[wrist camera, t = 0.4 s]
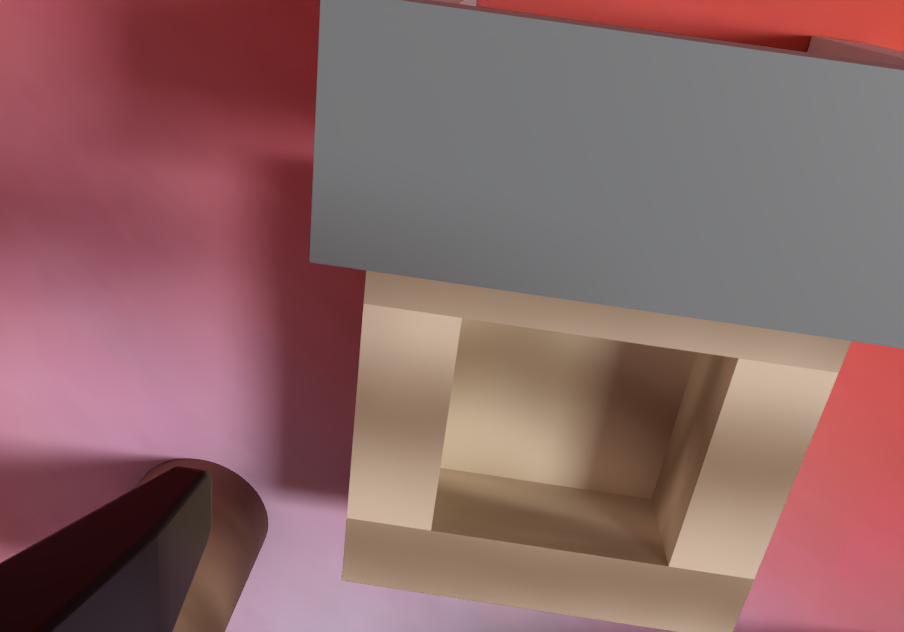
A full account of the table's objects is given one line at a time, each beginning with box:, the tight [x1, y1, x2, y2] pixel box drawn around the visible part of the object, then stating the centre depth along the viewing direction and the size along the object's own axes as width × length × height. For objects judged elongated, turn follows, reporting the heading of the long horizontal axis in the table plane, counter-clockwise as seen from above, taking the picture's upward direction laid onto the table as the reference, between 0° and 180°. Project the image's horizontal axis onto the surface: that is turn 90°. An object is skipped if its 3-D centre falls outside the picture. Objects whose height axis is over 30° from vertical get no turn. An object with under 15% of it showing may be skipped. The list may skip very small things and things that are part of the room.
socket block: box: [342, 271, 851, 632], centre depth 22 cm, size 12×12×4 cm
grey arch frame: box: [309, 0, 904, 349], centre depth 15 cm, size 4×12×10 cm, turn 83°
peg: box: [137, 459, 268, 632], centre depth 23 cm, size 5×5×9 cm
